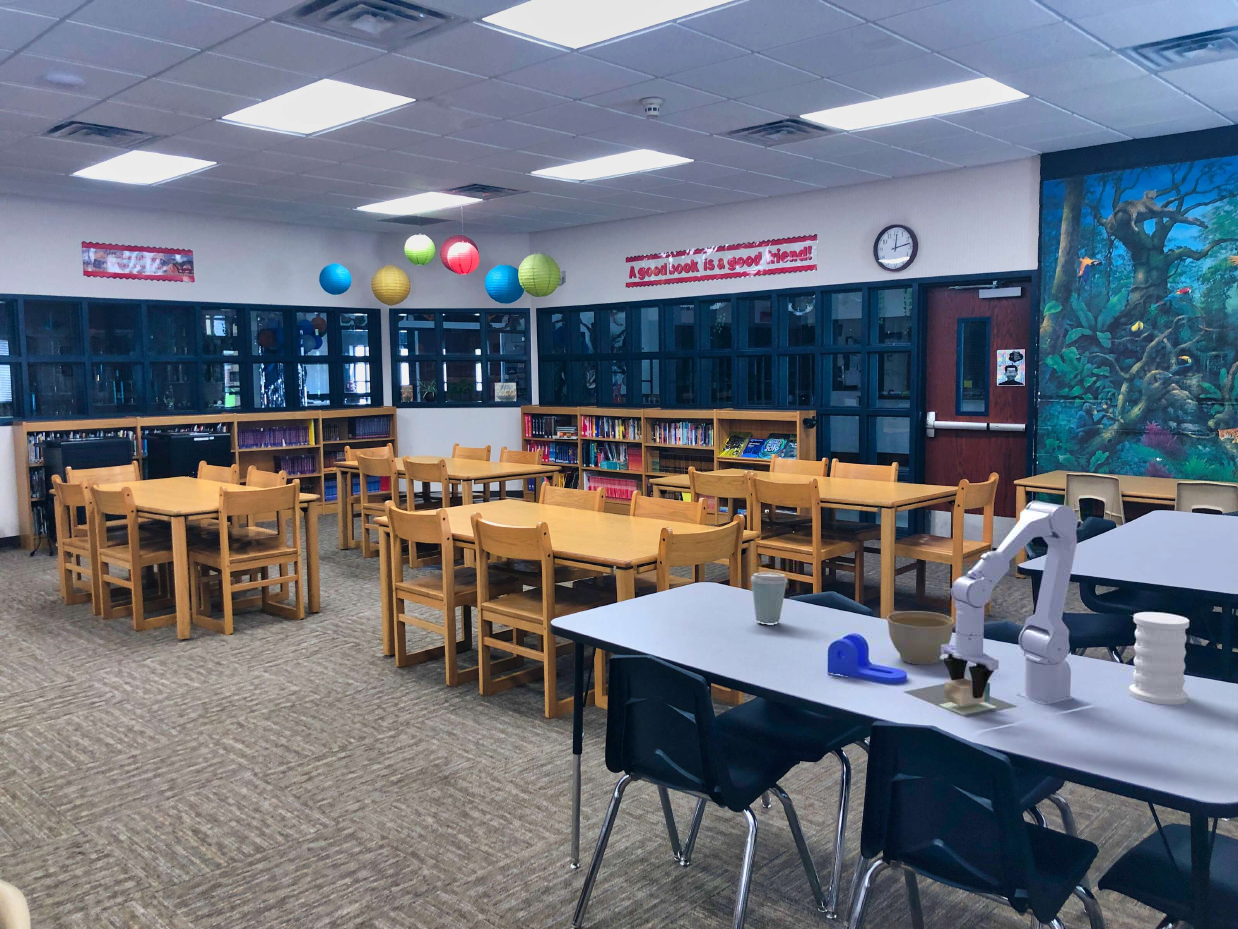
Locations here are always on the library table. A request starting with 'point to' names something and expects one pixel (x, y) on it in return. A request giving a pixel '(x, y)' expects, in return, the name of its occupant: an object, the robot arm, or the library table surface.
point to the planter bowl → (919, 635)
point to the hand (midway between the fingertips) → (967, 693)
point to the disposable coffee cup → (768, 596)
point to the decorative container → (1159, 658)
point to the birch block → (964, 692)
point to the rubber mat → (938, 698)
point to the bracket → (860, 662)
